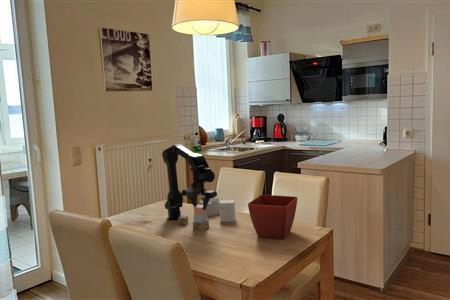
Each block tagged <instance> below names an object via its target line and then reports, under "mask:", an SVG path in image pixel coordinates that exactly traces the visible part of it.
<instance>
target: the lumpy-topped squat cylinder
mask: <svg viewBox="0 0 450 300" xmlns="http://www.w3.org/2000/svg"><path fill="white" fill-rule="evenodd" d="M220 201H223V200H222V198H219V197H217V196H216V197H214V198H211V199H210V200H209V202H208V205H207V207H206V213H207V217H211V216H215V215H216V216H217V215H220V206H219V203H220ZM198 203H199V205H203V200H202V199H201V200H199V202H198Z"/></svg>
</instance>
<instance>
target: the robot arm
mask: <svg viewBox="0 0 450 300" xmlns="http://www.w3.org/2000/svg"><path fill="white" fill-rule="evenodd" d="M179 156H180V157H182V158H183V159H185V160H186V161H187V163H188V165H189V166H190V169H189V171H191V172H192V174H191V175H192V182H191V184H190V186H189V187H187V188H184V189H182V191H180V189H179V182H178V173H177V172H178V171H177V164H178V160H179ZM161 157H162V160H163V162H164V163H165V165H166V168H167V177H168V178H167V179H168V188H169V192H168V194H167V196H166V197H167V198H166V202H165V204H164V209H166V210H167V217H166V220H170V221H177V220H179V219H178V218H179V217H180V216H182V213H181V208H182V207H183V203H184V197H186V198H188V199H189V200H190V201H191V204H192V206H193V208H194V207H195V206H197V205H198V196H203V197H202V198H201V200H203V208H204V210H206V207H207V205H208V202H209V200H210V199H211V198H214V197H216V198H217V197H218V191H216V190H212V189H210V190H207V188H205V184H206V183H213V182H214V181H215V179H216V177H215V176H216V174H215V172H214V171H213V170H212V168H210V165H209V164H208V162H207V160H206V158H205V156H204V155H203V154H200V153H195V152H193V151H192V150H190V149H188V148H186V147H185V146H183V145H182V144H181V143H177V144H176V143H175V144H173V145H171V146H170V147H167V148H166V149H163V151H162V152H161Z"/></svg>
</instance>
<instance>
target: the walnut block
mask: <svg viewBox="0 0 450 300" xmlns="http://www.w3.org/2000/svg"><path fill="white" fill-rule="evenodd" d="M177 220H178V226H187V225H188V224H189V216H188V215H181V216H180V217H179V218H178V219H177Z"/></svg>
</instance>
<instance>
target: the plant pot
mask: <svg viewBox="0 0 450 300" xmlns="http://www.w3.org/2000/svg"><path fill="white" fill-rule="evenodd" d="M297 205H298V196H292V195H291V196H289V195H278V194H277V195H274V194H260V195H258V196H257V197H256V198H254V199H253V200H251V201H250V202H248V203H247V208H248V212H249V215H250V219H251V220H250V221H251V223H252V226H253V229H254V231H255V233H256V236H257V237H259V238H269V239H277V240H284V239H285V238H286V237H287V235H288V234H289V233H290V232H291V230H292V227H293V224H294V221H295V216H296V211H297Z"/></svg>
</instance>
